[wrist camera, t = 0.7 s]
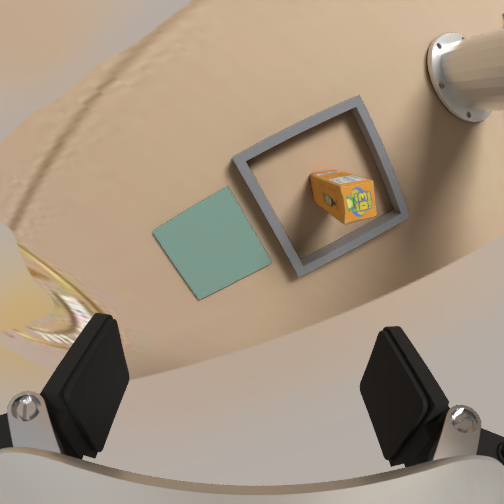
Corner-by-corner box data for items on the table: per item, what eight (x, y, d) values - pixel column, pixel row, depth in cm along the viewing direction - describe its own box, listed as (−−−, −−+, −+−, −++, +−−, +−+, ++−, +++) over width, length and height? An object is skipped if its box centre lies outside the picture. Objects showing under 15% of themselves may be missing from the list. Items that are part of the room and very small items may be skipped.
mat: (227, 185, 32) (227, 186, 32) (271, 261, 35) (272, 262, 35) (153, 230, 33) (152, 231, 33) (199, 298, 37) (198, 299, 36)
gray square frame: (353, 97, 29) (359, 94, 27) (402, 212, 33) (410, 217, 32) (232, 156, 31) (231, 157, 29) (296, 270, 36) (299, 277, 34)
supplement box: (342, 196, 33) (378, 219, 23) (313, 201, 33) (340, 227, 23) (338, 167, 31) (374, 180, 22) (308, 172, 32) (335, 186, 22)
